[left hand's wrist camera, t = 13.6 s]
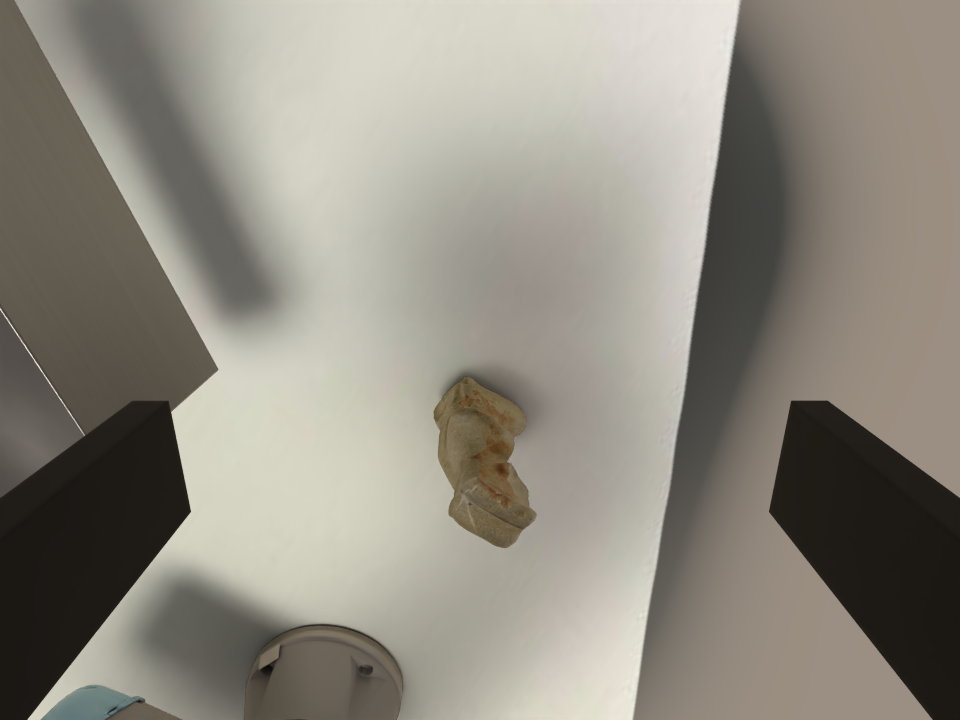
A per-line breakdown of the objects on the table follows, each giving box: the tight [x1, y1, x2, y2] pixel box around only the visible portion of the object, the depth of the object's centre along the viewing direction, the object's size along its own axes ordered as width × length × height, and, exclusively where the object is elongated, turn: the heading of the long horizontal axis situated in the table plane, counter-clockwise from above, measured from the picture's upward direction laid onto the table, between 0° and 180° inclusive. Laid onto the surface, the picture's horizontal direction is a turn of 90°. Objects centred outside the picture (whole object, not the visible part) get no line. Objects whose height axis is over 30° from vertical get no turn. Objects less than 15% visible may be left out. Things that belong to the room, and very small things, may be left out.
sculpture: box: [434, 377, 536, 548], centre depth 42 cm, size 6×7×15 cm
